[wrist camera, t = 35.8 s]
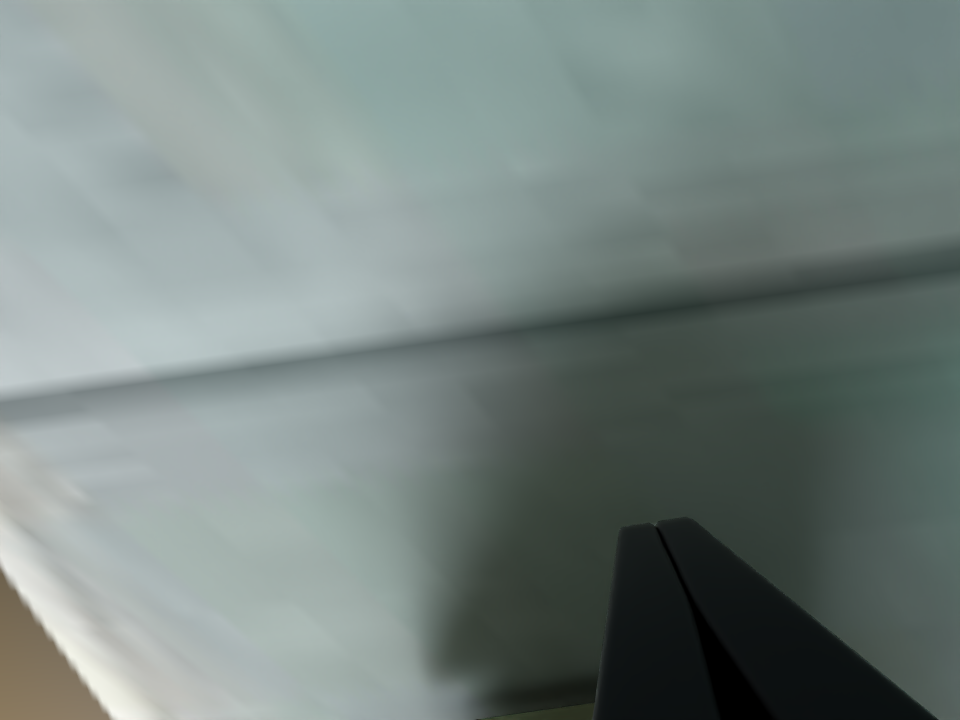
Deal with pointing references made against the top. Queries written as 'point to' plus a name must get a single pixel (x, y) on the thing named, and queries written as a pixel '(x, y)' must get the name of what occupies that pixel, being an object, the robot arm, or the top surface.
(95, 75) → the top surface
